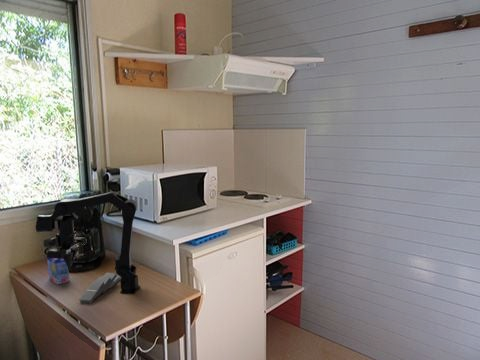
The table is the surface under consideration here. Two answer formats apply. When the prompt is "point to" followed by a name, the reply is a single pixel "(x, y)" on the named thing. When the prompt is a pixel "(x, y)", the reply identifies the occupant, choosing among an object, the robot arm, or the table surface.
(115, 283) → the domino
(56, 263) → the ink cartridge box
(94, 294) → the domino
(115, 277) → the domino
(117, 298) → the table surface
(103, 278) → the domino
